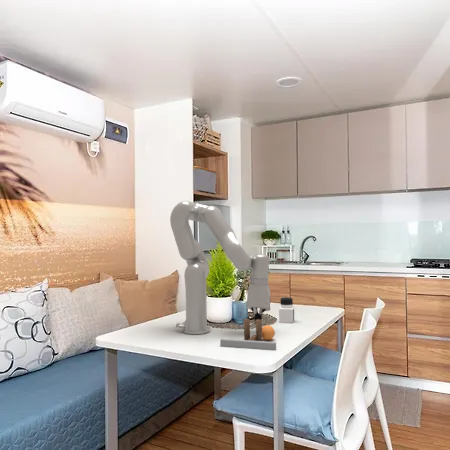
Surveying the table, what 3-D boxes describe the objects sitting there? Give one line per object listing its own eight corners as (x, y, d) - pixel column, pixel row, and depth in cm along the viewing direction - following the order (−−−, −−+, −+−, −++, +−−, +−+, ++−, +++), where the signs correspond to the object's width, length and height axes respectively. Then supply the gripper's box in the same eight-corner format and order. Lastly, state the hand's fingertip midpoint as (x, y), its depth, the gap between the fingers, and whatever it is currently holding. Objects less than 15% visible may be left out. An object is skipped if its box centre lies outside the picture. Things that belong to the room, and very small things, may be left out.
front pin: (253, 341, 174) (247, 346, 166) (250, 335, 175) (245, 341, 166) (258, 339, 174) (253, 344, 165) (255, 333, 174) (250, 339, 165)
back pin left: (244, 342, 171) (244, 320, 171) (243, 340, 173) (243, 318, 174) (250, 341, 171) (250, 319, 171) (249, 340, 174) (249, 318, 174)
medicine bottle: (293, 323, 205) (293, 298, 206) (279, 322, 207) (278, 298, 207) (294, 320, 212) (293, 296, 213) (280, 319, 214) (279, 296, 214)
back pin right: (256, 342, 169) (256, 320, 170) (255, 341, 172) (255, 319, 172) (262, 342, 170) (262, 320, 170) (261, 341, 172) (261, 319, 172)
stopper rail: (220, 346, 165) (220, 339, 165) (221, 344, 167) (221, 338, 167) (275, 350, 159) (275, 343, 159) (276, 348, 161) (276, 342, 161)
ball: (273, 329, 170) (270, 320, 175) (259, 334, 170) (257, 325, 176) (277, 340, 172) (275, 331, 178) (264, 345, 173) (262, 335, 178)
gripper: (241, 281, 186) (239, 322, 186) (274, 284, 182) (272, 326, 182) (245, 279, 193) (243, 319, 193) (277, 282, 189) (275, 322, 189)
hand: (257, 322), depth 187 cm, fingers closed
